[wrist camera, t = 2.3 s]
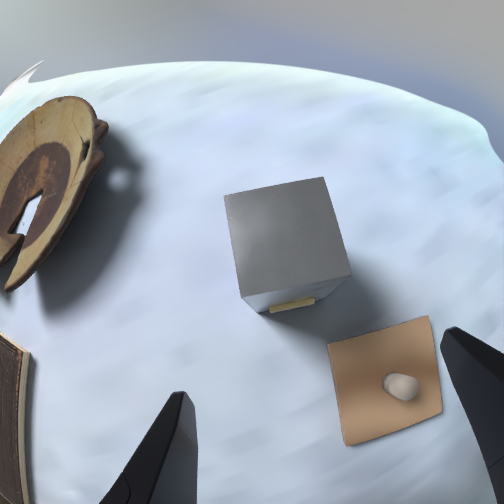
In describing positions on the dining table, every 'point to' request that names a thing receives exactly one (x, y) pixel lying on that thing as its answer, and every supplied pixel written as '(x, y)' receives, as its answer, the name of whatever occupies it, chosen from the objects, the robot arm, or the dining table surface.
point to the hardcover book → (13, 420)
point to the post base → (368, 373)
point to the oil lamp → (46, 177)
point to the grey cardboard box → (286, 245)
